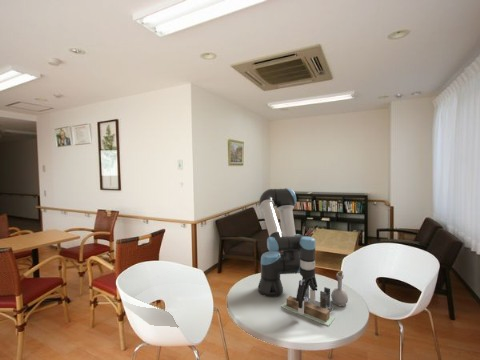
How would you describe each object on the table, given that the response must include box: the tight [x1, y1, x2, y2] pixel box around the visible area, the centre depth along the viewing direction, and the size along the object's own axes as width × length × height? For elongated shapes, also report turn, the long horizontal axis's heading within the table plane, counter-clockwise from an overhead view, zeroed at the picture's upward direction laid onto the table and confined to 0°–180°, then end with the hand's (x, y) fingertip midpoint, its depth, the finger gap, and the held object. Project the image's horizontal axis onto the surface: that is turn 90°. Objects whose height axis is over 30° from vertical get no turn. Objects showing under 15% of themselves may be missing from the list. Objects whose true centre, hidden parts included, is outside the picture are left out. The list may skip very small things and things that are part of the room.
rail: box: [285, 295, 331, 322], centre depth 132 cm, size 22×4×4 cm, turn 50°
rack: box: [303, 286, 334, 312], centre depth 139 cm, size 18×7×10 cm, turn 50°
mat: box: [280, 301, 336, 327], centre depth 132 cm, size 26×8×1 cm, turn 50°
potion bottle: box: [330, 270, 349, 307], centre depth 141 cm, size 9×9×18 cm
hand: (306, 307), depth 132 cm, fingers open, 13 cm apart
